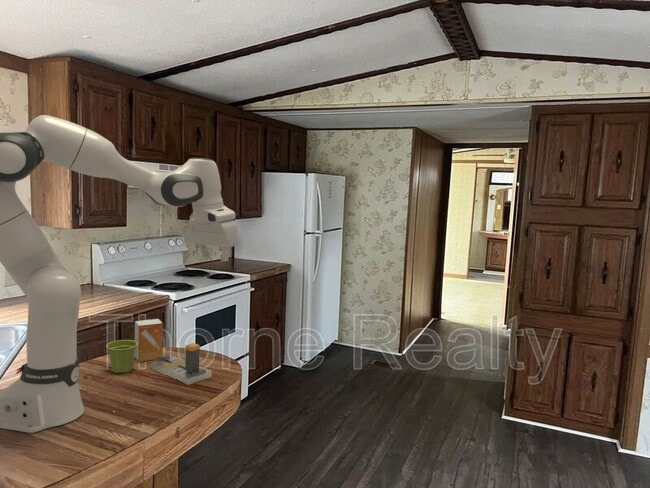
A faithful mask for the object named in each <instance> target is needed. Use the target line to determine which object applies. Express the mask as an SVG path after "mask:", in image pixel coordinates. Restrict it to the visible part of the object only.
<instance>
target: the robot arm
mask: <svg viewBox="0 0 650 488" xmlns="http://www.w3.org/2000/svg"><path fill="white" fill-rule="evenodd" d="M42 162H47V163H52V164H55V165H58V166H61V167H63V168H65V169H68V170H70V171H73V172H75V173H80V174H82V175H87V176H89V177H96V178H101V179H102V178H104V179H111V180H116V181H117V182H121V183H123V184H125V185H128V186H129V187H133V188H135V189H137V190H139V191H142V192H143V193H144V194H145V195H146V196H148V197H149V198H150V200H152V202H154V203H156V204H157V205H160V206H163V207H164V206H165V207H167V206H168V207H173V208H180V207H181V208H182V207H185V206H187V205H189V204H191V206H192V212H191V214H190V216H189V221H188V238H189V240H190V242H191V243H192V244H197V245H198V248H199V250H200V252H201V255H202V258H203V259H209V258H210V257H211V255H210V251H209V250H208V247H207V246H214V247H220V250H221V251H222V252H221V254H220V255H219V256H220V261H221V262H228V261H229V253H230V250H231V248H233V247H236V246H237V245H238V242H239V235H238V227H237V223H236V221H235V219H237V218H236V212H235V211H234V210H232V209H230V208H228V207H227V206H226V205H224V201H223V200H224V199H223V198H222V184H221V183H222V182H221V178H220V177H221V176H220V172H219V169H218V166H217V163H216V162H215V161H214V160H213V159H211V158H206V157H205V158H204V157H191V158H188V160H187V161H186V162H184V164H182V165H181V166H180V167H178V168H177V169H174V170H172V171H171V172H170V171H153V170H150V169H148V168H146V167H143V166H141V165H139V164H137V163H135V162H132V161H131V160H128V159H127V158H125V157H123V156H122V155H121V154H120V153H119V151H117V149H116V147H115V145H114V144H113V143H112V141H110V140H108V139H107V138H105V137H104V136H103V135H101V134H99V133H98V132H96V131H93V130H91V129H89V128H86V127H85V126H82V125H81V124H76V123H74V122H72V121H68V120H67V119H63V118H59V117H55V116H52V115H47V114H41V115H38V116H37V117H35V118H33V119H32V120H31V121H30V122H29V123H28V125H27V127H26V129H25V131H19V132H18V131H17V132H0V263H1V265H2V267H4V269H5V270H6V271H7V273H8V274H9V276H11V278H12V279H13V281H14V282H15V283H16V285H17V286H18V287H19V289H20V290H21V291H22V293H23V294H24V295H25V297H26V298H27V303H28V306H27V307H28V308H27V310H28V311H27V324H26V325H27V326H26V332H25V333H26V335H25V337H26V338H25V340H26V342H25V343H26V345H25V346H26V362H25V363H24V364H22V365H21V367H19V368H17V369H15V371H16V373H15V374H16V375H17V374H20V373H21V374H20V377H19V378H18V379H16V380H14V382H13V383H11V384H10V385H8V386H7V387H6V388H5V389H3V390H2V391H1V392H0V429H4V430H10V431H17V432H23V433H28V434H33V433H37V432H41V431H43V430H45V429H49V428H53V427H57V426H61V425H65V424H67V423H70V422H73V421H75V420H77V419H78V418H79V417H81V416H82V415H83V414H84V412H85V407H84V404H83V400H82V397H81V393H80V387H79V386H80V385H79V378H80V362H79V361H80V360H79V358H78V354H77V351H78V349H77V348H78V346H77V337H78V336H77V330H78V329H77V328H78V320H79V314H80V304H81V299H82V298H81V297H82V290H81V289H82V288H81V285H80V282H79V280H78V278H77V277H76V276H75V275H74V274H72V272H70V271H69V270H68V269H66V267H65V266H64V264H63V263H62V261H61V260H60V259H59V257H58V255H57V254H56V252H55V250H54V248H53V247H52V246H51V244H50V242H49V241H48V239H47V237H46V235H45V234H44V233H43V230H42V229H41V228H40V226H39V225H38V223H37V222H36V221H35V219H34V218H33V216H32V215H31V214H30V212H29V210H28V209H27V208H26V206H25V205H24V203H23V202H22V201H21V199H20V197H19V195H18V194H17V191H16V183H17V182H19V181H21V180H24V179H26V178H27V177H28V176H30V175H31V174H32V173H33V172H34V170H35V169H36V168H37V167H38V166H39V165H40V164H41V163H42Z"/></svg>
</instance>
